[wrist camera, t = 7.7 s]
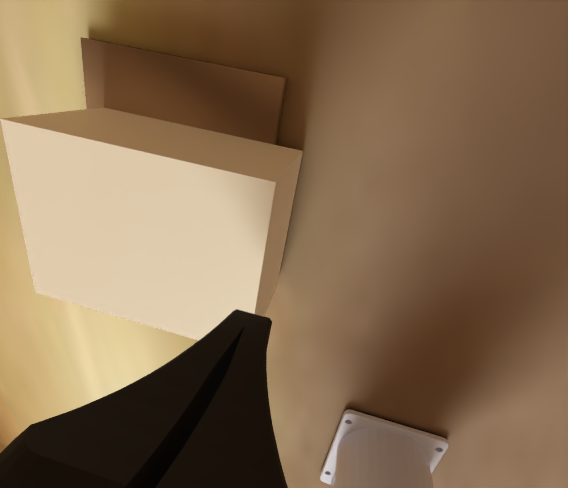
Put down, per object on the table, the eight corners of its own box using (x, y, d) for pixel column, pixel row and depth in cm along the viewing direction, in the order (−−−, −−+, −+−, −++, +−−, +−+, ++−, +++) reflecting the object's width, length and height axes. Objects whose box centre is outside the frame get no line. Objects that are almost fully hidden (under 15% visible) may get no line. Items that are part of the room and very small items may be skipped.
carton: (247, 354, 17) (35, 292, 19) (276, 285, 23) (113, 242, 24) (275, 182, 13) (0, 118, 14) (303, 150, 19) (103, 107, 20)
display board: (249, 316, 25) (246, 321, 25) (106, 276, 27) (101, 280, 26) (286, 78, 18) (284, 78, 18) (88, 38, 19) (80, 37, 19)
